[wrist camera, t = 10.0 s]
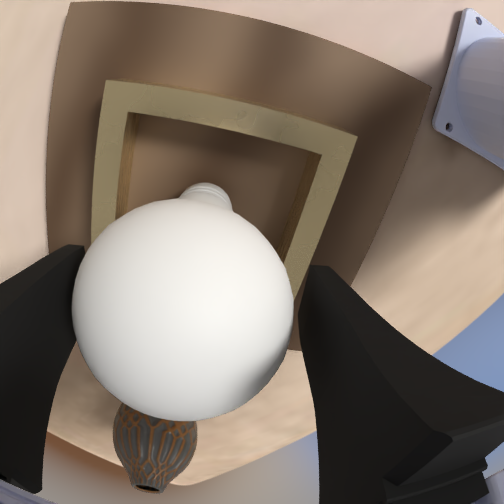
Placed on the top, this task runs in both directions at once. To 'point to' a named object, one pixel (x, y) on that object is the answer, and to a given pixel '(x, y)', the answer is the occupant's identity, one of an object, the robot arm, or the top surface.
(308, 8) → the top surface
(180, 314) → the white light bulb
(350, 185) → the lamp base
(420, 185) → the top surface
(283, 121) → the socket collar
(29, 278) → the robot arm
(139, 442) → the vase
